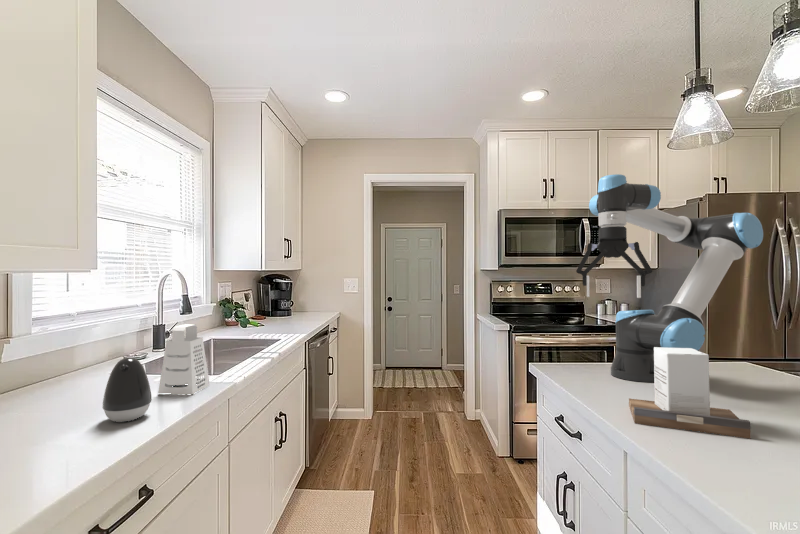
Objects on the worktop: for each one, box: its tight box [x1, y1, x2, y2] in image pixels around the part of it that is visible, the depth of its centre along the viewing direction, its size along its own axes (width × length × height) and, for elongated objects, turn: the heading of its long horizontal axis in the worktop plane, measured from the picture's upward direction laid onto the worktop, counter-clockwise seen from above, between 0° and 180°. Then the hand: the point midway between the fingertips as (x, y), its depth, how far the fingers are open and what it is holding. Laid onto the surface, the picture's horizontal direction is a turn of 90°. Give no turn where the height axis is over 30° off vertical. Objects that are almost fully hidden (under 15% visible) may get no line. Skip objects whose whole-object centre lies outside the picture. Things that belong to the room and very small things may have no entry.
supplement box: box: [653, 347, 711, 416], centre depth 101 cm, size 9×9×15 cm
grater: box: [157, 323, 211, 395], centre depth 127 cm, size 10×10×20 cm
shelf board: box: [628, 397, 751, 439], centre depth 100 cm, size 14×22×4 cm, turn 66°
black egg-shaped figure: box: [101, 357, 152, 423], centre depth 102 cm, size 10×10×15 cm
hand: (612, 297), depth 123 cm, fingers open, 13 cm apart
